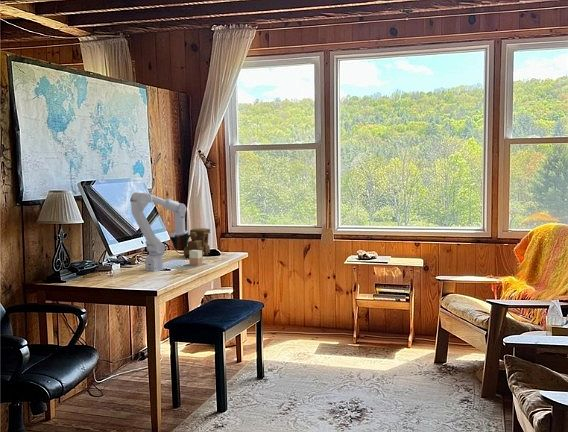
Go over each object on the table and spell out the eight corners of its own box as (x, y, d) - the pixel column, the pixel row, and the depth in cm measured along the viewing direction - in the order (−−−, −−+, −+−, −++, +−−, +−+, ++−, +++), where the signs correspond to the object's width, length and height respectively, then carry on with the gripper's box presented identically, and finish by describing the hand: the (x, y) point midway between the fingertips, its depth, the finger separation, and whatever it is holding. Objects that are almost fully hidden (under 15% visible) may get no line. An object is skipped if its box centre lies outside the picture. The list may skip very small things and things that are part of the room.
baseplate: (186, 271, 313) (186, 262, 313) (170, 269, 318) (170, 261, 318) (208, 264, 332) (208, 256, 331) (193, 263, 337) (193, 255, 336)
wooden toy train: (195, 253, 374) (195, 228, 372) (212, 254, 371) (211, 228, 369) (182, 258, 354) (181, 231, 353) (199, 259, 351) (198, 232, 350)
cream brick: (197, 258, 326) (197, 251, 326) (189, 257, 329) (189, 250, 329) (202, 257, 330) (202, 250, 329) (193, 256, 333) (193, 249, 332)
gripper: (177, 225, 317) (178, 250, 318) (193, 223, 330) (193, 246, 331) (167, 225, 320) (167, 249, 322) (183, 222, 333) (184, 246, 334)
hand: (180, 248), depth 326 cm, fingers open, 7 cm apart
